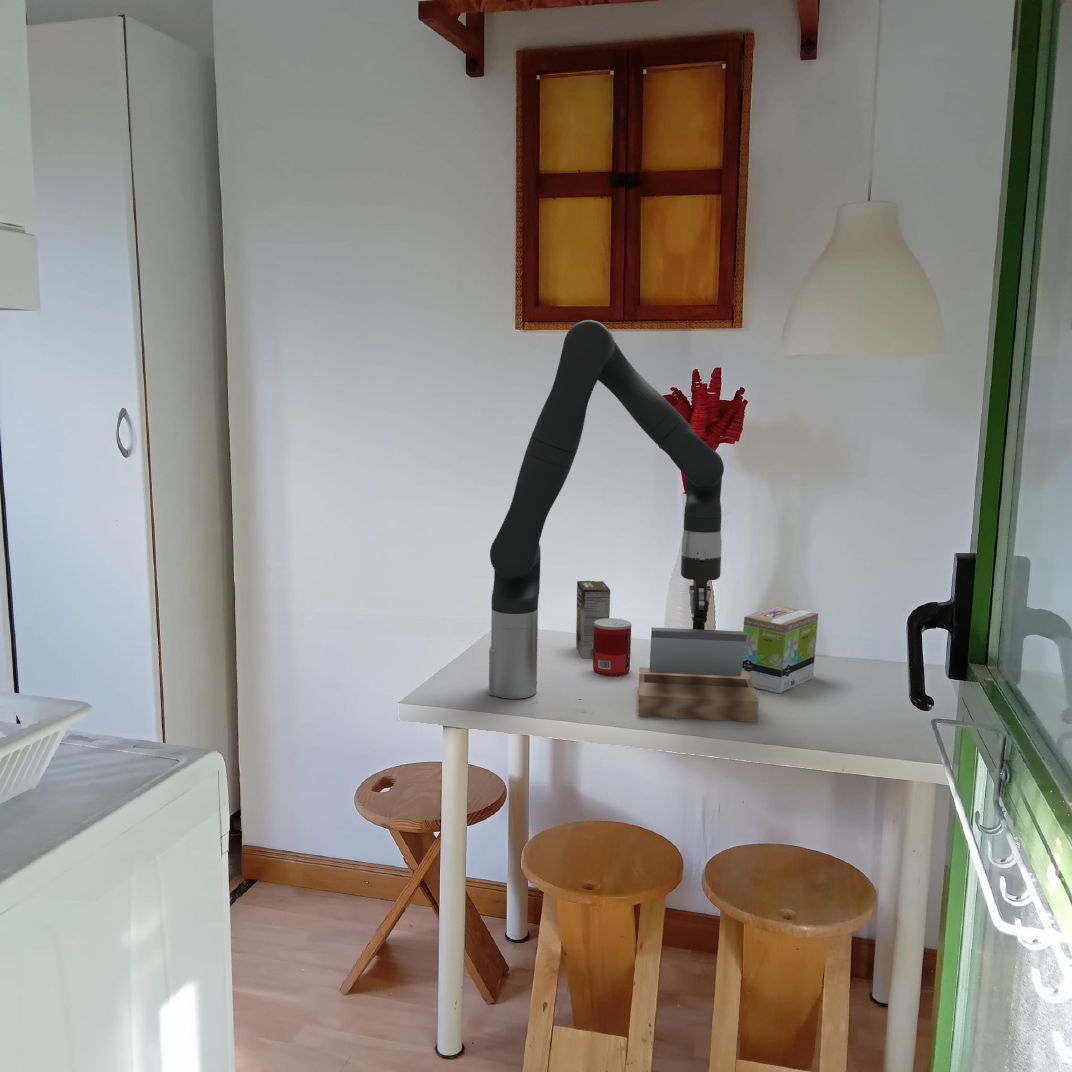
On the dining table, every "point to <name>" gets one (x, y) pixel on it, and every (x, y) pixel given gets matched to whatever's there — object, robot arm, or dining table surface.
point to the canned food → (611, 647)
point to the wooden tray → (697, 696)
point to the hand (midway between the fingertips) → (698, 640)
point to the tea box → (780, 647)
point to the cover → (697, 651)
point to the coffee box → (590, 613)
